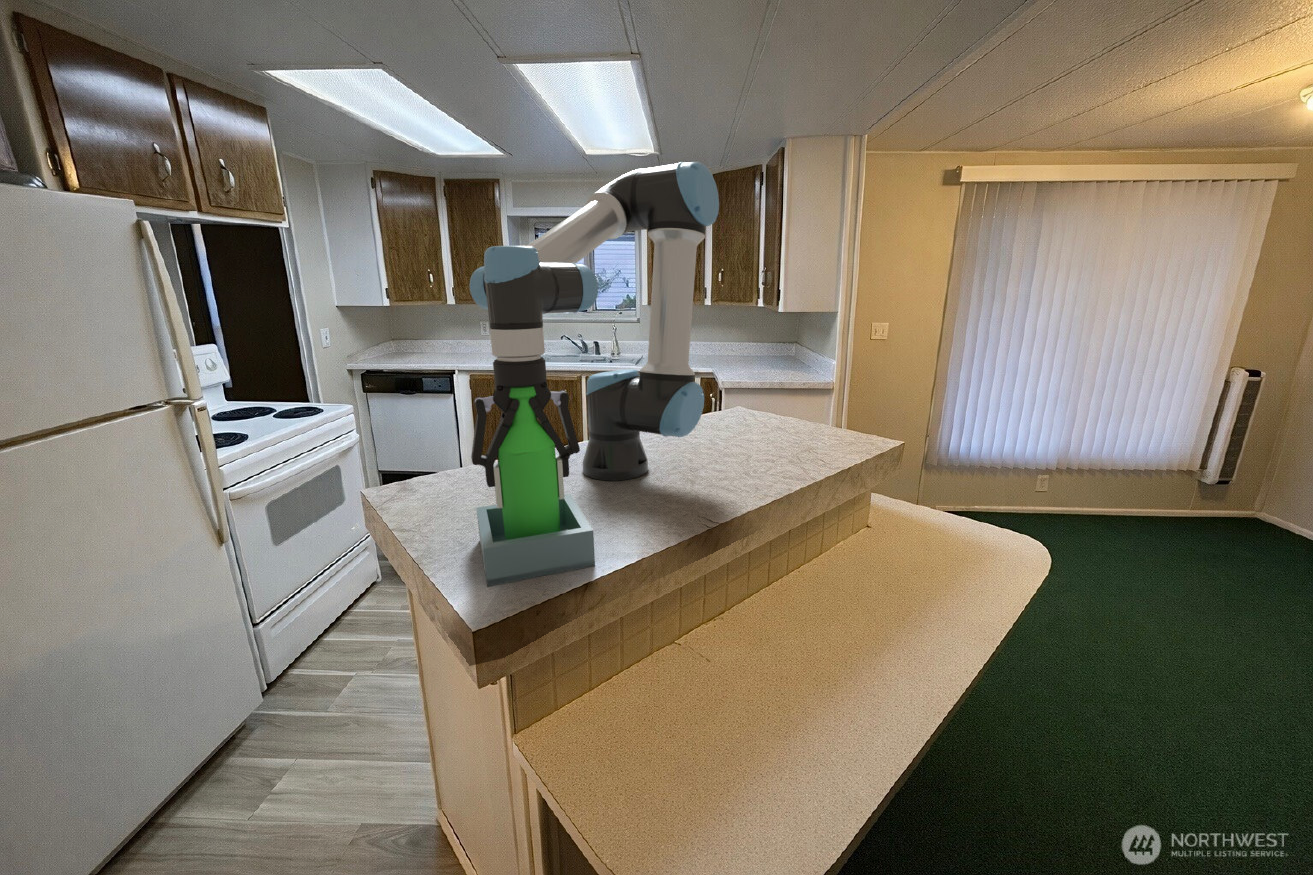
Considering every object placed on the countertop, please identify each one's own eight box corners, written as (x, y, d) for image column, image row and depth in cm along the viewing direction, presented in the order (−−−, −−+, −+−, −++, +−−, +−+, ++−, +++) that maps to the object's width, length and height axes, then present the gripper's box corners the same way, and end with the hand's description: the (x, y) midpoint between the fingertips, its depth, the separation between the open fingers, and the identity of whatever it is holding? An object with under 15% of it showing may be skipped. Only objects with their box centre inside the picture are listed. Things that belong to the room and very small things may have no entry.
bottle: (509, 554, 83) (494, 391, 76) (501, 531, 90) (486, 382, 84) (567, 543, 86) (557, 386, 79) (554, 522, 94) (544, 377, 87)
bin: (572, 524, 99) (570, 493, 97) (594, 565, 84) (593, 530, 83) (479, 540, 93) (476, 507, 92) (487, 586, 79) (483, 548, 77)
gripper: (584, 350, 87) (591, 483, 94) (440, 358, 80) (457, 502, 86) (596, 356, 81) (602, 498, 87) (440, 365, 73) (459, 520, 79)
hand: (530, 500), depth 86 cm, fingers closed on bottle, 9 cm apart
